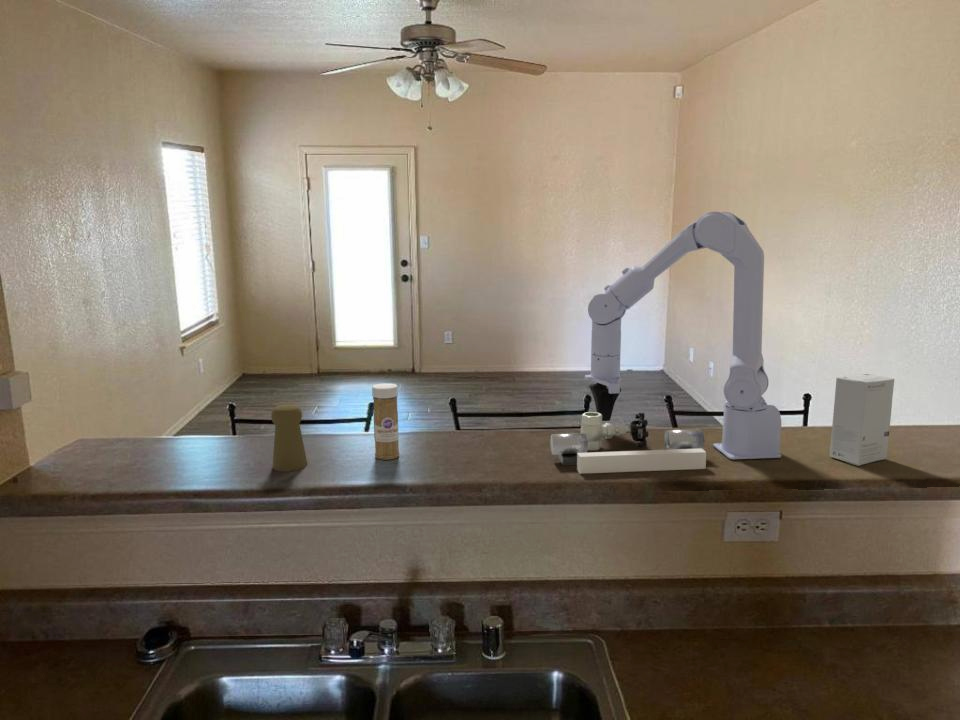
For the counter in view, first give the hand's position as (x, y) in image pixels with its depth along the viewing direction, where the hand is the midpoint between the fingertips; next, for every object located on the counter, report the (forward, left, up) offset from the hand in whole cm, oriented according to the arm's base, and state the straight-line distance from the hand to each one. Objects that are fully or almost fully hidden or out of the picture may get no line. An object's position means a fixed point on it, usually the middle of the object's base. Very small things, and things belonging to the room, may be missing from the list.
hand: (604, 420), depth 140 cm
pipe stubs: (0, +16, -3) cm, 16 cm away
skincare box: (-41, +20, -3) cm, 46 cm away
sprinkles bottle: (+43, +10, -3) cm, 44 cm away
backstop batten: (-1, +22, -3) cm, 22 cm away
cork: (+60, +13, -3) cm, 61 cm away
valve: (+1, +9, -3) cm, 9 cm away
